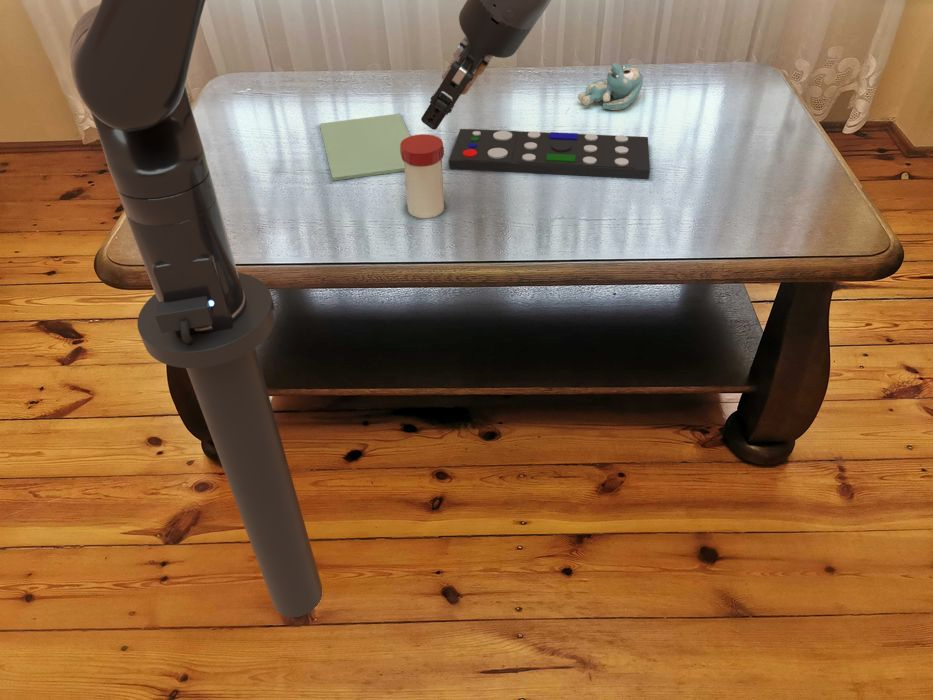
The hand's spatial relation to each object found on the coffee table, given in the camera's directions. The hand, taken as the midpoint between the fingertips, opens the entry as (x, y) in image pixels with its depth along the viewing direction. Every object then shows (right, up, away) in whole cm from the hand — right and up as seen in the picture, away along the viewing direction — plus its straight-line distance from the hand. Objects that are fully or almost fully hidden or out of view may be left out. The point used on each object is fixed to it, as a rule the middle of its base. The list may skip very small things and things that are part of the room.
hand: (440, 106), depth 93 cm
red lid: (-3, -3, +8) cm, 9 cm away
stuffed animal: (+29, +14, +41) cm, 52 cm away
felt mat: (-13, +3, +30) cm, 32 cm away
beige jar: (-2, -10, +14) cm, 18 cm away
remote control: (+16, 0, +25) cm, 30 cm away
